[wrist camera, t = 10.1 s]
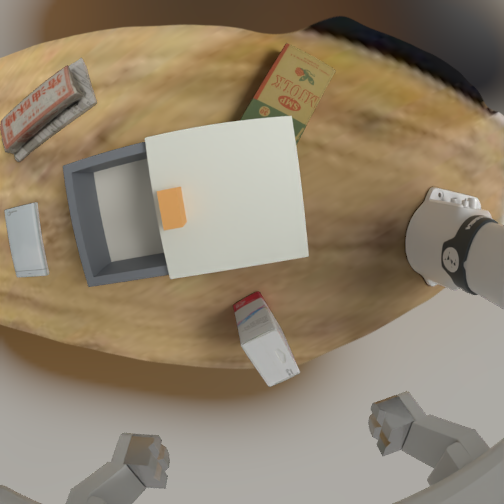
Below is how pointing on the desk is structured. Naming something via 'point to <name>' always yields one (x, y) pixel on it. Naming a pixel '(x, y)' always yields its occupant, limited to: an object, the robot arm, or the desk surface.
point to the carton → (291, 88)
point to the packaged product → (48, 110)
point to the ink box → (264, 340)
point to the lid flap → (228, 195)
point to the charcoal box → (115, 216)
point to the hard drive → (26, 240)
